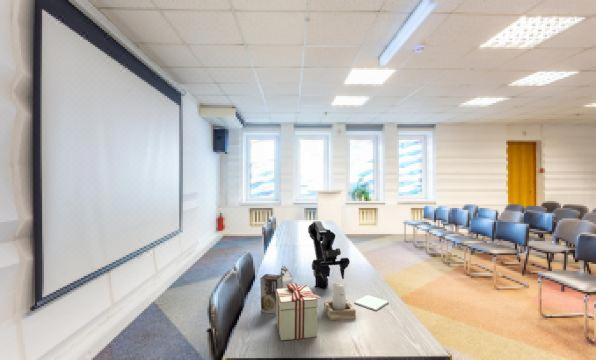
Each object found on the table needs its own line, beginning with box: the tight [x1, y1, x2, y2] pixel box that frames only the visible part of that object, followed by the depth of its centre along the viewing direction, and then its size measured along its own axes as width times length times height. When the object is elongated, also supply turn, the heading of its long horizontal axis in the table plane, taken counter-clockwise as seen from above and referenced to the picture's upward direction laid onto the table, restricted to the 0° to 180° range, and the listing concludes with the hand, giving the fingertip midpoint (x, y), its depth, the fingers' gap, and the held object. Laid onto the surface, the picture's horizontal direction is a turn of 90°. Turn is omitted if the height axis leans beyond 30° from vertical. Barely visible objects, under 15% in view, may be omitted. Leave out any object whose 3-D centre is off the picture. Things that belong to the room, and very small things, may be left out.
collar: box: [323, 299, 357, 321], centre depth 133 cm, size 11×11×4 cm
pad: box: [353, 294, 389, 312], centre depth 143 cm, size 12×12×1 cm
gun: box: [280, 265, 297, 285], centre depth 186 cm, size 36×4×10 cm
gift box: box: [275, 283, 323, 341], centre depth 120 cm, size 17×18×17 cm
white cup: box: [282, 276, 293, 288], centre depth 152 cm, size 8×8×10 cm
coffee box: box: [259, 273, 283, 314], centre depth 137 cm, size 9×6×16 cm
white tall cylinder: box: [331, 282, 347, 311], centre depth 132 cm, size 8×6×13 cm
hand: (334, 279), depth 140 cm, fingers open, 9 cm apart
